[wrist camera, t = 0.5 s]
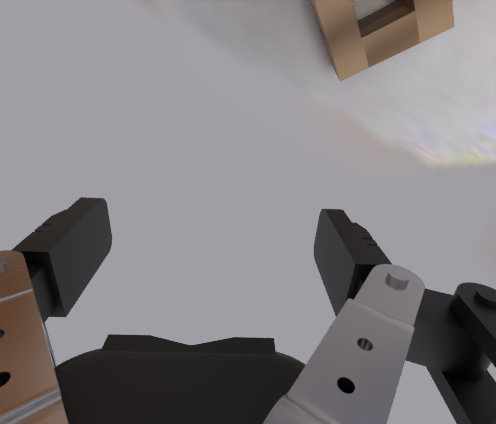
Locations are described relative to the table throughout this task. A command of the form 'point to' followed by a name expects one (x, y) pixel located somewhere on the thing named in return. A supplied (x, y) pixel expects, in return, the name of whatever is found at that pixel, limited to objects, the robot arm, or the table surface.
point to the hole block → (377, 30)
